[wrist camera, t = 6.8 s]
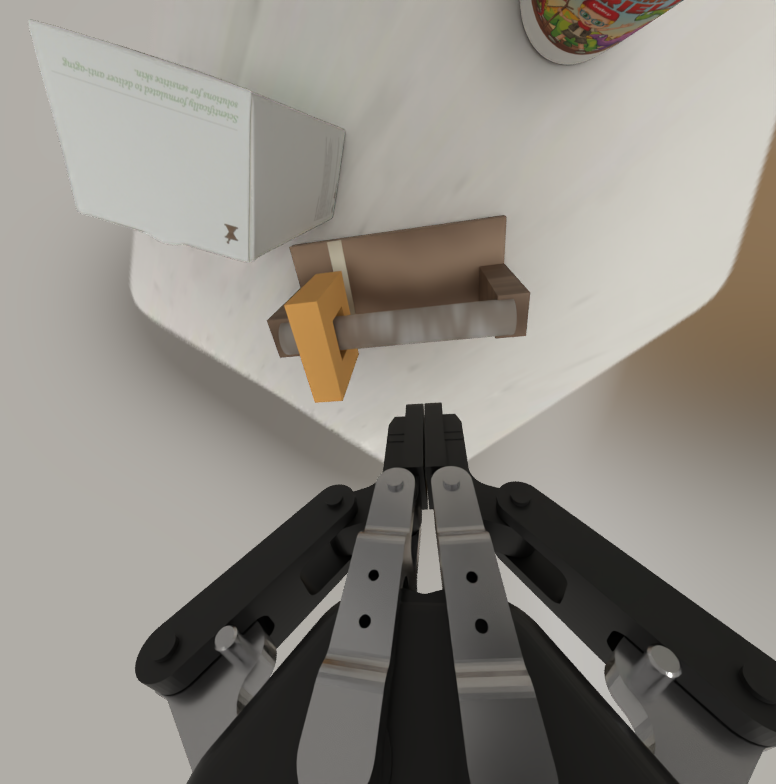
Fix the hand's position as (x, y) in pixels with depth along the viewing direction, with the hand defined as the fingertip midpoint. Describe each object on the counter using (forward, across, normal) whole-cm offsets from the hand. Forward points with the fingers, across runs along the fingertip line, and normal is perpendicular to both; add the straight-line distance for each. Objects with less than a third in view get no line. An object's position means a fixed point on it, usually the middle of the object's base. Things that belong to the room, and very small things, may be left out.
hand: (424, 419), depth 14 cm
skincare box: (+20, +10, -10) cm, 24 cm away
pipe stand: (+20, +2, 0) cm, 20 cm away
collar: (+14, +7, 0) cm, 16 cm away
